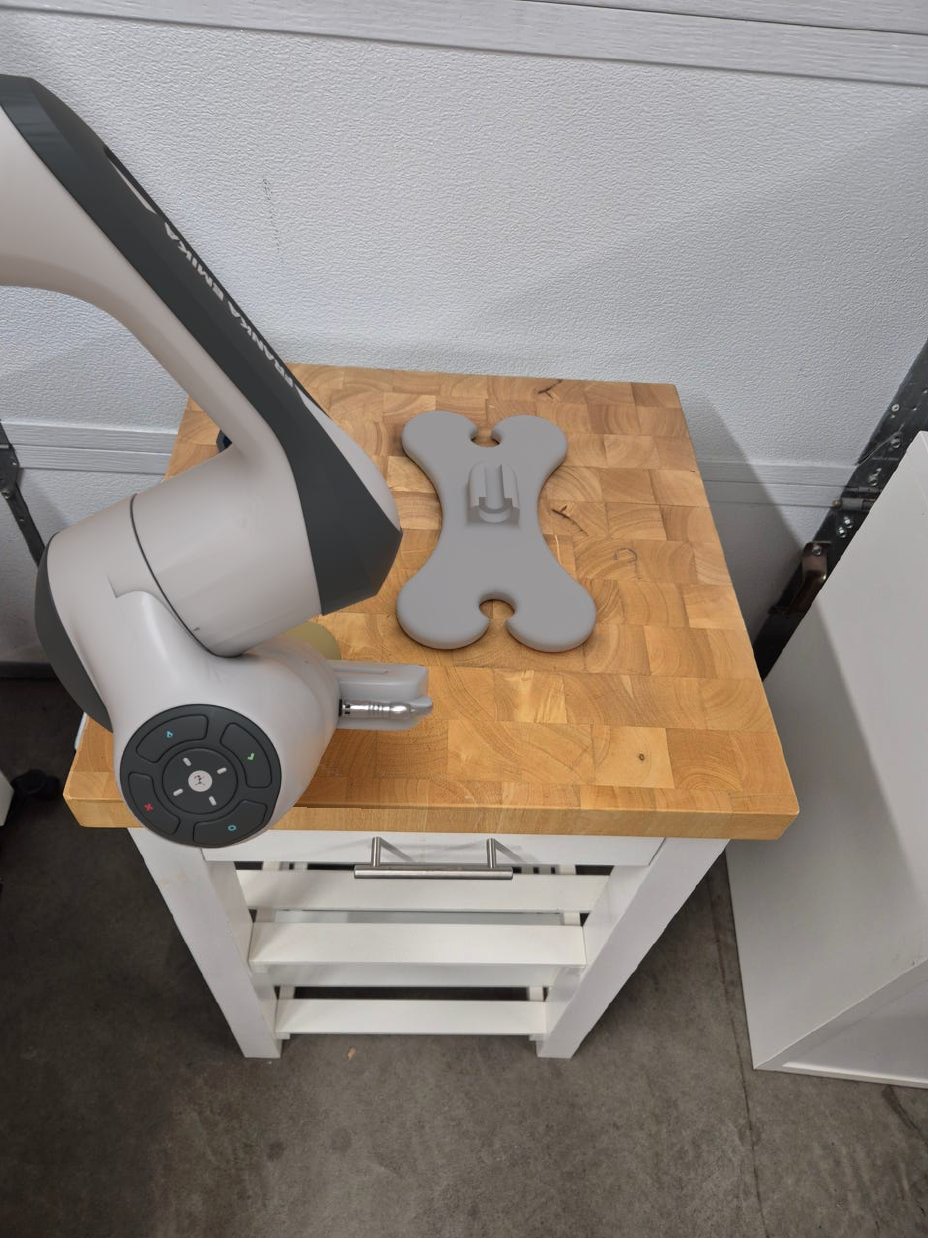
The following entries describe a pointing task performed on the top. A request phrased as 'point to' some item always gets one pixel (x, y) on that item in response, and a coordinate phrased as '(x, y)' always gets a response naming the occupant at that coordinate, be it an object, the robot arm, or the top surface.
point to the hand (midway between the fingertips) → (302, 669)
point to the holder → (491, 537)
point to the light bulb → (317, 639)
